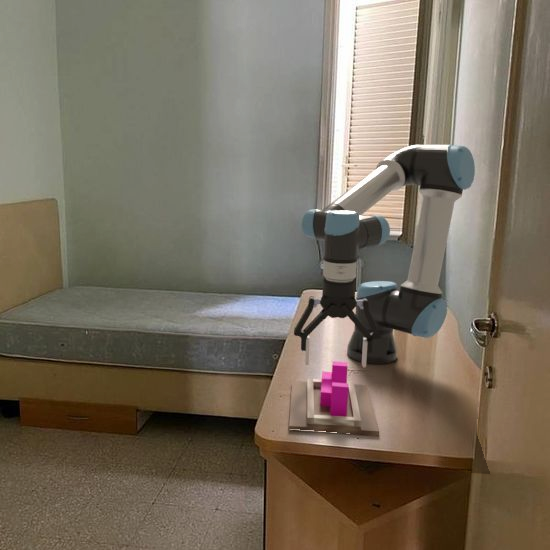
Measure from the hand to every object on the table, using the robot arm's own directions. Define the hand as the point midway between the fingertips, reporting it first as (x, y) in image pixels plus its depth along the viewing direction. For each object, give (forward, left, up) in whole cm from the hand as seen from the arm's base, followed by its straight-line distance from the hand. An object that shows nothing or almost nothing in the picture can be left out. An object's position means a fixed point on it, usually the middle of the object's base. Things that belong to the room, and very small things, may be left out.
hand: (335, 364), depth 129 cm
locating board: (0, 0, -11) cm, 11 cm away
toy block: (0, -1, -10) cm, 10 cm away
